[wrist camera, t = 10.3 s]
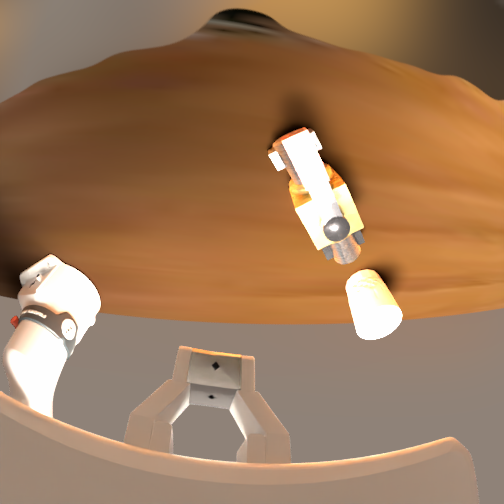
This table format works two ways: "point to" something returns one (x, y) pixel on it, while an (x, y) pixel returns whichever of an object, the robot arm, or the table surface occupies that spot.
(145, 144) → the table surface
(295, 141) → the lever
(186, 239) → the table surface
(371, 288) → the white cup
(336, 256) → the valve
